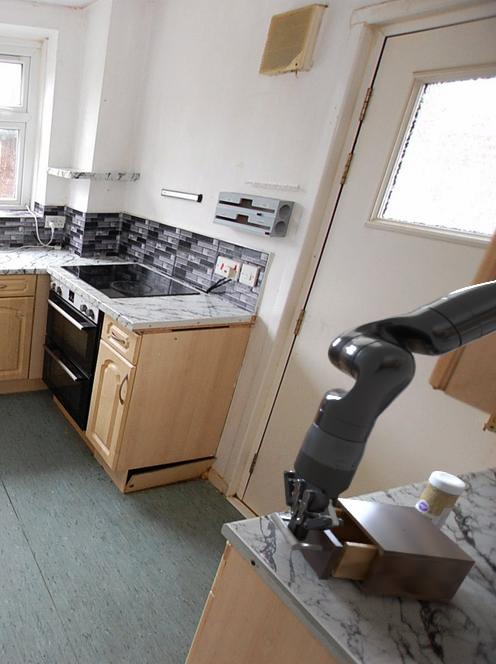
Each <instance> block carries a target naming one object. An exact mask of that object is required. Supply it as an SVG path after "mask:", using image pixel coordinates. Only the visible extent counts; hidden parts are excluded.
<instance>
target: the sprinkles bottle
mask: <svg viewBox="0 0 496 664" xmlns="http://www.w3.org/2000/svg"><path fill="white" fill-rule="evenodd" d="M466 488H467V485H466V483H465V482H464V481H463V480H462V479H460V478H459V477H457V476H455V475H453V474H450V473H448V472H445V471H440V470H439V471H438V470H435V471H433V472H432V473H431V475H430V476H429V477H428V483H427V485H426V486H425V488H424V490H423V492H422V494H421V496H420V497H419V499H418V501H417V502H416V504H415V506H414V507H415V508H416V509H418V510H419V511H420V512H421V513H422V514H423V515H424V516H425V517H427V518H428V519H429V520H430V521H431V522H432V523H433V524H434V525H436V526H437V527H438V528H439V529H440V530H441V531H442V528H443V527H444V525H445V523H446V521H447V519H448V518H449V516H450V514H451V513H452V511H453V509H454V506H455V504H456V503H457V502H458V500H459V497H461V496H462V495H463V494H464V492H465V490H466Z"/></svg>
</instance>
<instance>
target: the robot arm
mask: <svg viewBox="0 0 496 664" xmlns="http://www.w3.org/2000/svg"><path fill="white" fill-rule="evenodd" d="M494 333H496V280H493V281H488V282H484V283H480V284H476V285H472V286H466V287H463V288H460V289H458V290H455V291H452V292H449V293H447V294H445V295H443V296H440V297H438V298H436V299H434V300H432V301H430V302H428V303H426V304H423V305H421V306H419V307H417V308H415V309H413V310H412V311H410V312H407V313H403V314H398V315H392V316H389V317H385V318H381V319H377V320H372V321H369V322H368V321H367V322H365V323H362V324H358V325H355V326H353V327H350V328H348V329H346V330H344V331H343V332H342V333H339V334H338V335H337V336H336V337H335V338H334V339H333V340H332V341H331V343H330V344H329V346H328V349H327V358H328V360H329V362H330V364H331V365H332V366H333V367H334V368H335V369H337V370H338V371H340V372H341V373H343V374H345V375H346V376H348V377H350V378H351V379H353V380H354V381H355V382H354V385H353V386H352V387H351V388H350V389H347V388H343V387H341V388H340V387H334V388H331V389H328V390H327V391H326V392H325V393H324V394H323V396H322V398H321V400H320V402H319V405H318V407H317V410H316V413H315V415H314V417H313V420H312V422H311V424H310V425H309V427H308V428H307V430H306V432H305V434H304V437H303V439H302V442H301V445H300V447H299V450H298V453H297V455H296V456H295V457H296V458H295V460H294V462H293V469H294V470H286V469H285V470H284V471H283V485H284V495H285V496H284V497H285V505H286V506H287V507H290V511H289V513H290V517H291V519H290V522H288V523H287V526H288V528H289V529H290V530H291V532H292V533H293V534H294V536H295V537H296V539H297V540H298V541H304V540H305V539H306V537H307V535H308V532H309V530H315V531H326V530H330V529H335V528H340V527H343V526H344V521H343V520H342V519H339V518H337V516H336V512H335V509H334V508H336V507H337V505H338V498H339V497H340V495H341V494H343V493H344V492H346V491H347V490H348V489H350V486H351V484H352V482H353V480H354V477H355V475H356V473H357V471H358V469H359V466H360V465H361V462H362V460H363V458H364V455H365V453H366V450H367V445H368V442H369V439H370V437H371V435H372V432H373V430H374V428H375V426H376V423H377V421H378V419H379V417H380V416H381V415H382V414H383V413H385V412H386V410H387V409H388V408H389V407H390V406H391V405H392V404H393V403H394V402H395V400H397V399H398V398H399V397H400V396H401V395H402V394H403V392H405V391H406V390H407V388H408V387H409V386H410V385H411V384H412V382H413V380H414V378H415V376H416V373H417V362H416V358H415V356H414V354H415V355H421V356H424V357H425V356H426V357H434V358H435V357H441V356H444V355H447V354H449V353H453V352H454V351H456V350H458V349H461V348H463V347H465V346H467V345H470V344H472V343H475V342H476V341H478V340H481V339H483V338H485V337H488V336H490V335H491V334H494Z"/></svg>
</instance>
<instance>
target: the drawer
mask: <svg viewBox="0 0 496 664" xmlns="http://www.w3.org/2000/svg"><path fill="white" fill-rule="evenodd" d="M334 509H335V512H336V516H337V518H339V519H342V520H343V521H344V526H343V527H340V528H335V529H330V530H326V531H315V530H309V532H308V535H307V537H306V539H305V540H304V541H298V540H297V539H296V537H295V536H294V534H293V533H292V532H291V530H290V529H289V528H288V524H287V523H286V522H288V523H289V522H290V519H291V516H284V515H280V514H279V513H278V512H272V513H271V514H270V515H269V517H270V519H271V521H272V523H274V525H275V526H276V528H277V530H278V531H279V532H280V534H281V535H282V536H283V538H284V539H285V541H286V542H287V544H288V545H289V547H290V548H291V550H292V551H299V552H300V554H301V555H302V557H303V558H304V560H305V561H306V562H307V564H308V565H309V567H310V568H311V569H312V571H313V572H314V573H315V575H316V576H317V578H318V579H319V580H320V581H325V582H327V581H328V580H329V578H330V576H331V575H332V577H333V578H340V579H349V580H353V579H356V580H364V579H365V577H366V575H367V573H368V571H369V569H370V567H371V565H372V564H373V562H374V560H375V558H376V556H377V554H378V552H379V549H378V548H377V547H376V546H375V545H374V543H373V542H372V541H371V540H370V539H369V538H368V537H367V536H366V535H365V534H364V532H363V531H362V530H361V529H360V528H359V527H358V526H357V525H356V524H355V523H354V521H353V520H352V519H351V518H350V517H349V516H348V515H347V514H346V513H345V512H344V510H343V509H342V508H334Z"/></svg>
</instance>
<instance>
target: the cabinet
mask: <svg viewBox="0 0 496 664" xmlns="http://www.w3.org/2000/svg"><path fill="white" fill-rule="evenodd" d="M336 508H342V509H343V510H344V512H345V513H346V514H347V515H348V516H349V517H350V518H351V519H352V520H353V521H354V523H355V524H356V525H357V526H358V527H359V528H360V529H361V530H362V531H363V532H364V534H365V535H366V536H367V537H368V538H369V539H370V540H371V541H372V542H373V543H374V545H375V546H376V547H377V548H378V549H379V552H378V554H377V556H376V558H375V560H374V562H373V564H372V565H371V567H370V569H369V571H368V573H367V575H366V577H365V579H364V580H356V579H352V581H353V582H354V584H356V586H357V587H358V588H359V590H360V591H361V592H362V593H363V594H369V595H370V594H372V595H379V596H386V597H387V596H388V597H395V598H401V599H409V600H410V599H411V600H417V601H427V602H435V603H441V604H448V605H449V604H451V602H452V600H453V599H454V597H455V596H456V594H457V592H458V591H459V589H460V588H461V586H462V584H463V583H464V581H465V580H466V578H467V576H468V575H469V573H470V572H471V570H472V568H473V566H474V565H475V563H476V562H477V561H476V560H475V559H474V558H473V557H472V556H471V555H469V554H468V553H467V552H466V551H465V550H464V549H463V548H461V546H459V545H458V544H457V543H456V542H455V541H454V540H453V539H451V538H450V537H449V536H448V535H447V533H445V532H443V531H442V529H441V530H440V529H439V528H438V527H437V526H436V525H434V524H433V523H432V522H431V521H430V520H429V519H428V518H427V517H425V516H424V515H423V514H422V513H421V512H420V511H419V510H418V509H416V508H415V506H409V505H401V504H400V505H399V504H392V503H382V502H373V501H365V500H357V499H349V498H342V497H341V498H340V497H338V505H337V507H336Z"/></svg>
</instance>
